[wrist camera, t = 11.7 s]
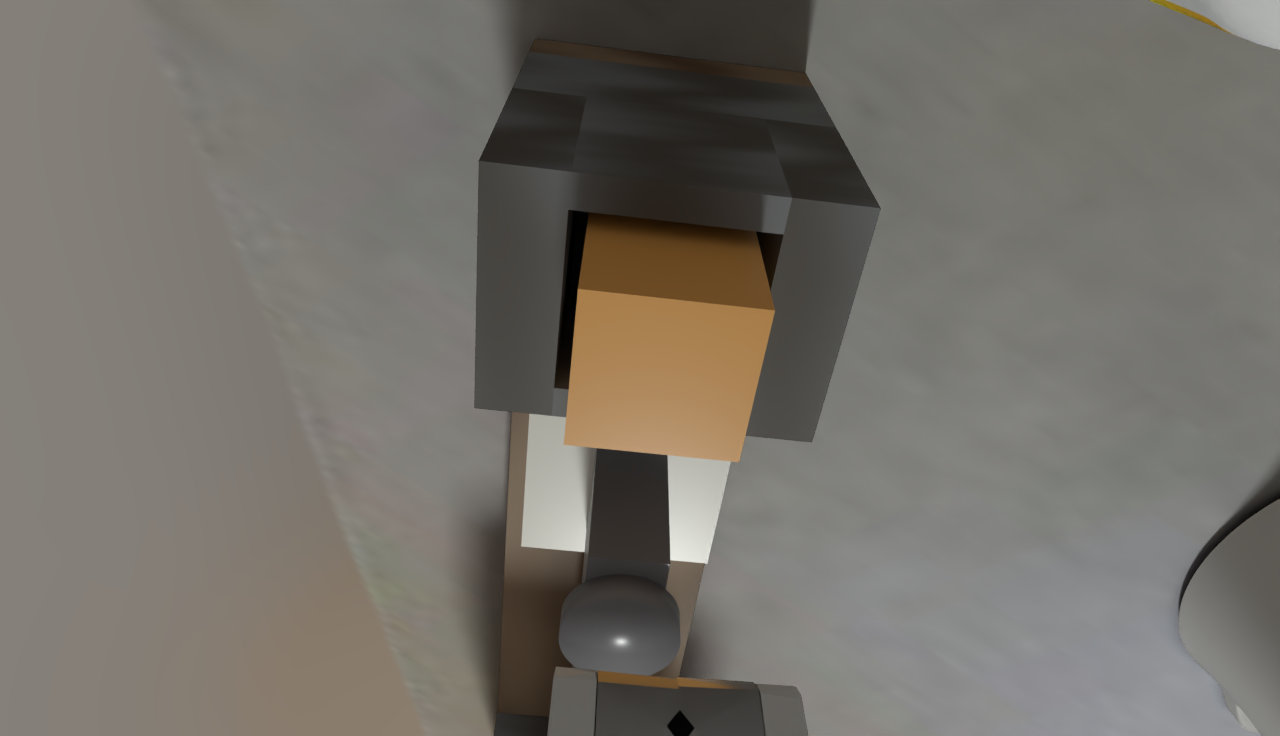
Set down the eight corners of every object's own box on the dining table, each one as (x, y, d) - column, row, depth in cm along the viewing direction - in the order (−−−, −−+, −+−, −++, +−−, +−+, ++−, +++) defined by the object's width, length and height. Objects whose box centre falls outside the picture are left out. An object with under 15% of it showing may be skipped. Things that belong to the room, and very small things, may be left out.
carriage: (729, 333, 28) (764, 567, 20) (700, 472, 32) (719, 724, 23) (546, 313, 28) (501, 543, 20) (536, 456, 31) (493, 706, 23)
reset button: (749, 201, 20) (775, 310, 16) (722, 334, 22) (739, 462, 18) (592, 183, 20) (578, 288, 16) (580, 319, 22) (563, 444, 18)
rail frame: (805, 73, 26) (880, 208, 17) (651, 769, 45) (651, 988, 37) (535, 39, 25) (479, 160, 17) (498, 757, 45) (463, 976, 37)
